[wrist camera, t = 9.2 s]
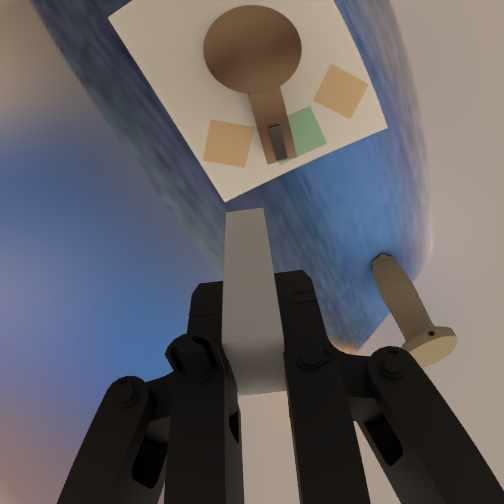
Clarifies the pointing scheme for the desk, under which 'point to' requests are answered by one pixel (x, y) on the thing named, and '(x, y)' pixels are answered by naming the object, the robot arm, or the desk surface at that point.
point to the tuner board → (236, 103)
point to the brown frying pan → (257, 68)
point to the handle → (411, 314)
